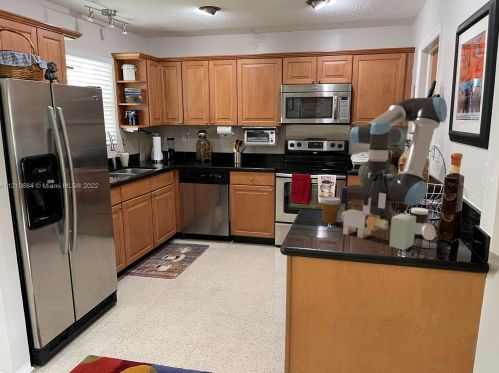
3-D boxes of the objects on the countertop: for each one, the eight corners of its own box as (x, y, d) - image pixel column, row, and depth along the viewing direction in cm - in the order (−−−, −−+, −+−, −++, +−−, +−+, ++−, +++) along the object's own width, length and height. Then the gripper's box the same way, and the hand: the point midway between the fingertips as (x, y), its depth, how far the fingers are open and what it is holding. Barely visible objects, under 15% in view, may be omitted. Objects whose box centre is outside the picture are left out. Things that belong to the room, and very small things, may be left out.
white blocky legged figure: (350, 230, 166) (351, 209, 164) (370, 235, 159) (372, 213, 157) (342, 233, 161) (343, 211, 159) (363, 238, 154) (364, 216, 152)
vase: (390, 200, 230) (394, 152, 224) (399, 208, 208) (403, 156, 203) (354, 198, 233) (357, 152, 227) (359, 206, 211) (362, 155, 206)
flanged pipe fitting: (411, 230, 166) (413, 206, 164) (438, 235, 159) (441, 210, 157) (403, 237, 157) (405, 211, 155) (431, 242, 150) (434, 215, 148)
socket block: (398, 241, 151) (401, 213, 149) (413, 244, 147) (416, 216, 145) (389, 246, 145) (391, 217, 143) (404, 250, 141) (406, 220, 139)
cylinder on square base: (345, 220, 166) (346, 209, 165) (388, 230, 152) (389, 217, 151) (340, 222, 163) (340, 210, 162) (382, 232, 149) (383, 219, 148)
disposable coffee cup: (340, 220, 182) (341, 197, 180) (339, 225, 173) (340, 201, 171) (320, 218, 185) (321, 195, 183) (319, 223, 176) (320, 199, 174)
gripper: (383, 157, 160) (379, 204, 164) (354, 161, 143) (350, 213, 146) (399, 159, 155) (395, 207, 159) (372, 162, 138) (367, 217, 141)
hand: (373, 210), depth 152 cm, fingers open, 13 cm apart
